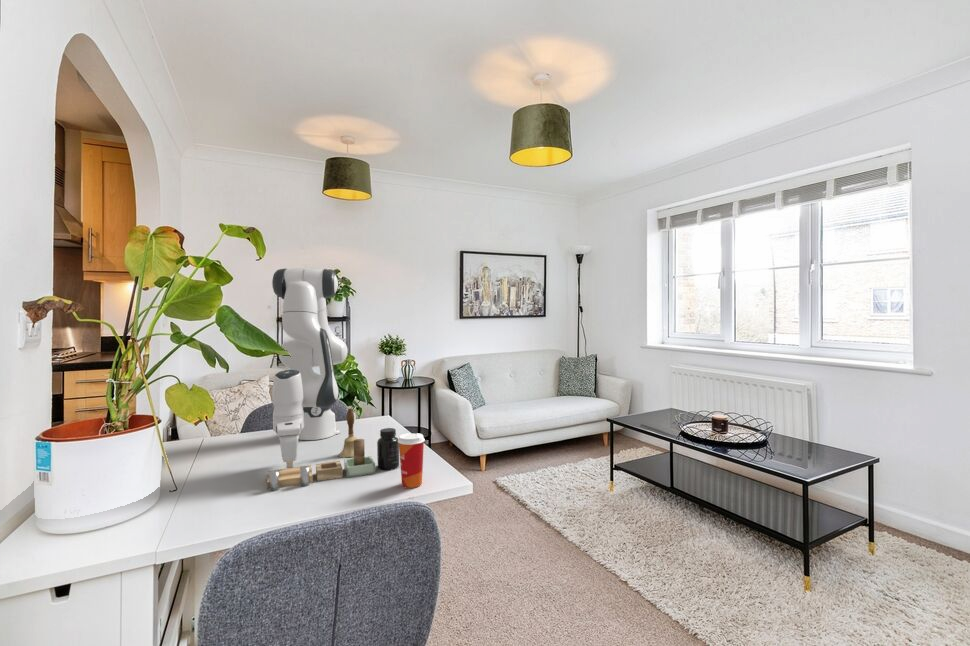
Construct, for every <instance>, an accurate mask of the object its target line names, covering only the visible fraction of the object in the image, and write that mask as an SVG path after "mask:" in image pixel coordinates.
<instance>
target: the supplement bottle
mask: <svg viewBox="0 0 970 646" xmlns="http://www.w3.org/2000/svg"><path fill="white" fill-rule="evenodd" d="M396 431H397V430H396V428H393V427H387V428H386V427H385V428H382V429H380V430H379V438H378V439H377V442H376V446H377V447H376V448H377V449H376V450H377V451H376V452H377V453H376V454H377V467H378V469H379V470H381V471H392V470H391V469H393V470H395V468H396V469H398V467H399V466H400V453H399V443H398V440H399V437H397V436H396V435H397V432H396Z"/></svg>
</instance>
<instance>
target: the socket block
mask: <svg viewBox="0 0 970 646" xmlns="http://www.w3.org/2000/svg"><path fill="white" fill-rule="evenodd" d="M315 473H316V480H317V482H321V481H320V480H323V481H328V480H327V479H330V480H335V479H334V478H336V479H343V466H342V464H341V461H340V460H337V461H336V460H335V461H334V460H333V461H329V462H328V461H327V462H321V463H315Z"/></svg>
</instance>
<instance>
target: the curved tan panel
mask: <svg viewBox="0 0 970 646" xmlns="http://www.w3.org/2000/svg"><path fill="white" fill-rule="evenodd" d="M304 466H305V465H303V466H295V467H294V466H293V468H287V467H286V468H281V469H280V468H279V469H277V470H278V471H279V488H284V487H285V486H286V487H292V486H297V485H301V483H300V468H301V467H304ZM307 466H308V467H309V483H310V482H312V483H314V480H313V479H314V478H313V476H314V475H313V470H312V465H311V464H310V465H307ZM274 470H275V469H274ZM274 470H272V469H271V470H268V472H267V480H266V481H267V482H266V487H267V490H270V479H269V472H270V471H274ZM310 484H311V483H310ZM291 485H292V486H291Z"/></svg>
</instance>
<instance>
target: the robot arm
mask: <svg viewBox="0 0 970 646" xmlns="http://www.w3.org/2000/svg"><path fill="white" fill-rule="evenodd" d="M271 285H272V290H273V293H274V295H276V296H277V297H279V298H281V300H283V303H282V315H281V316H282V318H281V323H282V325H281V326H282V329H283V331H284V333H285V334H286V335H287V336H288V337H290V338H292V339H291V340H288V341H284V342H283V343H282V344H281V345H280V347H281V346H282V347H283V348H284V349H286V350H287V351H288V352H289V353H290V354H291V355H292V356H293V358H292V357H290V356H282V355H279V354H278V358H279V360H280V362H281V363H282V364H283V365H284V366H285V367H286V368H288V369H285V370H281V371H278V372H277V373H275V374H274V377H273V381H272V391H271V392H272V395H271V396H272V404H273V412H272V429H273V430H272V431H273V432H275V434H276V435H277V436H276V437H278V439H279V445H280V452H281V459H282V462H283V463H286V469H287V468H294V462H295V461H296V460H297V459H298V458H297V456H298V447H299V440H302V441H314V440H315V441H316V440H323V439H327V438H331V437H332V436H335V435H338V434H339V435H340V434H341V430H340V429H339V428H338V427H336V414H335V413H334V411H332V410H331V409H332V405H334V404H335V403H336V402H338V398H339V387H338V382H337V379H336V373H335V367H334V366H336V365H339V364H343V363H344V362H345V361H346V359H347V357H348V350H349V349H348V346H347V344H346V343H345V342H344V341H343V340H342V339H341V338H339V337H337V336H336V335H335V334H334V333H333V331H332V329H331V327H330V326H329V322H328V313H327V312H328V311H327V299H331V298H333V297H334V296H335V295H336V292H337V291H338V288H339V280H338V277H337V275H336V273H335V272H334V271H333V270H331V269H327V268H324V269H320V268H313V267H304V268H300V267H299V268H289V269H288V268H286V267H285V268H280V269H277V270H276V271H274V273H273V275H272V279H271ZM314 367H319V368H318V369H319V373H320V374H318V372H317V373H316V372H315V371H314V369H313V368H314Z"/></svg>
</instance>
